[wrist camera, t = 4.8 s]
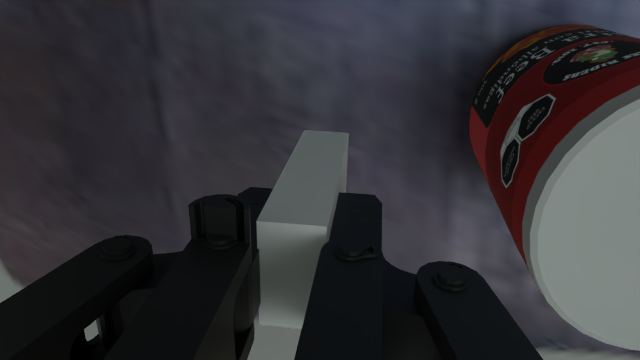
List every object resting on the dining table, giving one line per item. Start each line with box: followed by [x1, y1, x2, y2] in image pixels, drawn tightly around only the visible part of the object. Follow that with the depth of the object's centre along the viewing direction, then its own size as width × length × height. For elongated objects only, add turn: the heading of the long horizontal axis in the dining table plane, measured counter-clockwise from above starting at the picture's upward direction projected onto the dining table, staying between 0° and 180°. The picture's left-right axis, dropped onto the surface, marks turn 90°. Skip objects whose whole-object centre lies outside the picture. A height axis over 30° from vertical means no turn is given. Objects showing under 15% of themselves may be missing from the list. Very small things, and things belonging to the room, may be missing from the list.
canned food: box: [469, 25, 640, 350], centre depth 17 cm, size 8×8×11 cm
